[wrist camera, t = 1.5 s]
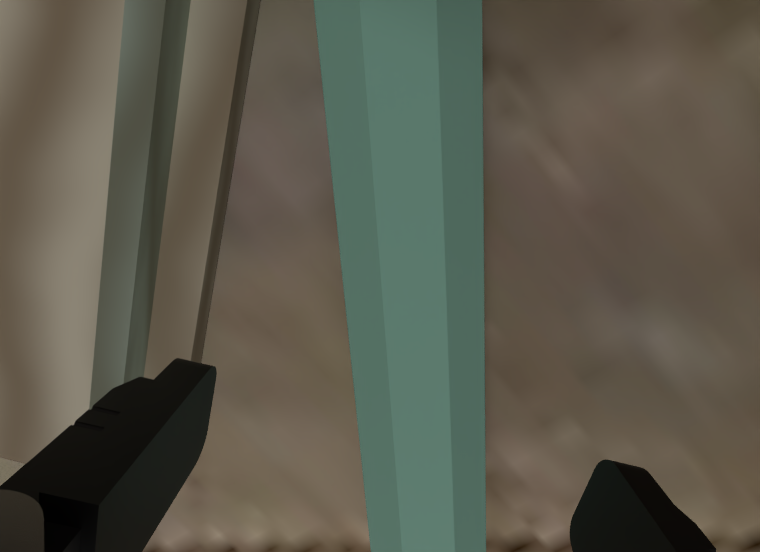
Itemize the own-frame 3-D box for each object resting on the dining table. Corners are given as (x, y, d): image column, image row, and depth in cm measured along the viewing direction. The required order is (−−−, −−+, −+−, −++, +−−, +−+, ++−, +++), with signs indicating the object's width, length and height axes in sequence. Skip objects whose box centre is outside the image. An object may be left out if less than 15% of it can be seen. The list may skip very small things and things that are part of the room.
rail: (278, -106, 15) (251, -161, 12) (181, 480, 21) (150, 526, 19) (-151, -231, 14) (-276, -316, 12) (-112, 406, 21) (-184, 443, 18)
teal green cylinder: (480, 679, 16) (469, -219, 9) (337, 615, 18) (234, -121, 11) (509, 544, 21) (518, -92, 14) (394, 508, 23) (349, -44, 16)
